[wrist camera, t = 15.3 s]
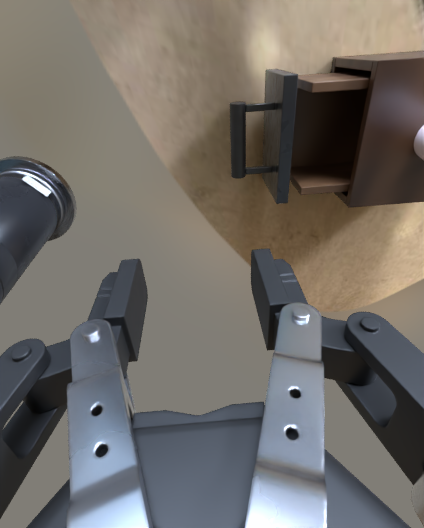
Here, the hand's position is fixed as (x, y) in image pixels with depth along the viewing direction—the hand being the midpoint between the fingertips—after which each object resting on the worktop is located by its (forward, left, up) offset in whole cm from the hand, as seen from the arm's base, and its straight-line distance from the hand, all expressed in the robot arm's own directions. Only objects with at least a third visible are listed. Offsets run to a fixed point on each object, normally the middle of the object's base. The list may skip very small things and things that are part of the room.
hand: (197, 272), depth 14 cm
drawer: (+12, 0, -26) cm, 29 cm away
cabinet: (+22, 0, -27) cm, 35 cm away
